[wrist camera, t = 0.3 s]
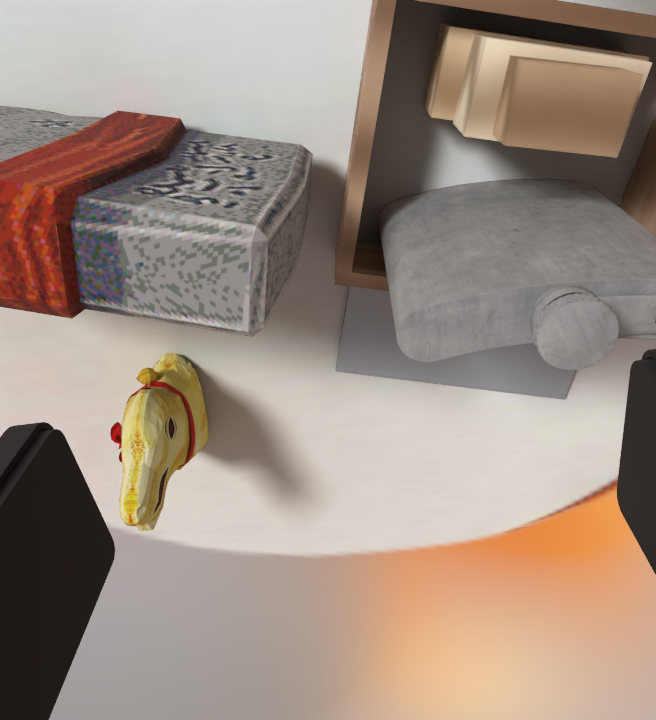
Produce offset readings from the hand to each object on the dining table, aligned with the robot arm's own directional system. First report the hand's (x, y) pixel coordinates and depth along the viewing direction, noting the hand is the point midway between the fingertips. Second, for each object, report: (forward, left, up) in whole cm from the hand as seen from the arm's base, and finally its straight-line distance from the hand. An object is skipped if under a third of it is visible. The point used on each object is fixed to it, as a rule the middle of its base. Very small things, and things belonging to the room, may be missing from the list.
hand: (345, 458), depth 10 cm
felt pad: (+16, +12, -36) cm, 41 cm away
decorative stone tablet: (+5, -17, -36) cm, 40 cm away
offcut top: (-3, +11, -28) cm, 31 cm away
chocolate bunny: (+25, -12, -36) cm, 46 cm away
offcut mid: (-3, +11, -32) cm, 34 cm away
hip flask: (+5, +11, -36) cm, 38 cm away
